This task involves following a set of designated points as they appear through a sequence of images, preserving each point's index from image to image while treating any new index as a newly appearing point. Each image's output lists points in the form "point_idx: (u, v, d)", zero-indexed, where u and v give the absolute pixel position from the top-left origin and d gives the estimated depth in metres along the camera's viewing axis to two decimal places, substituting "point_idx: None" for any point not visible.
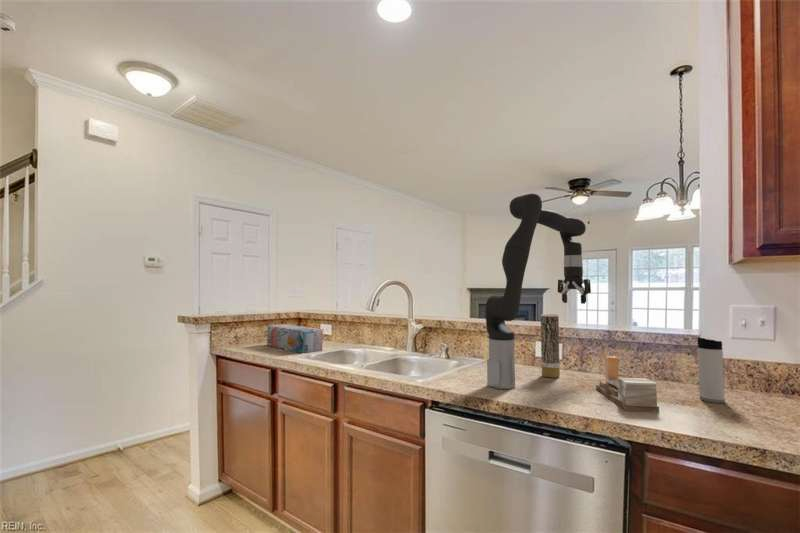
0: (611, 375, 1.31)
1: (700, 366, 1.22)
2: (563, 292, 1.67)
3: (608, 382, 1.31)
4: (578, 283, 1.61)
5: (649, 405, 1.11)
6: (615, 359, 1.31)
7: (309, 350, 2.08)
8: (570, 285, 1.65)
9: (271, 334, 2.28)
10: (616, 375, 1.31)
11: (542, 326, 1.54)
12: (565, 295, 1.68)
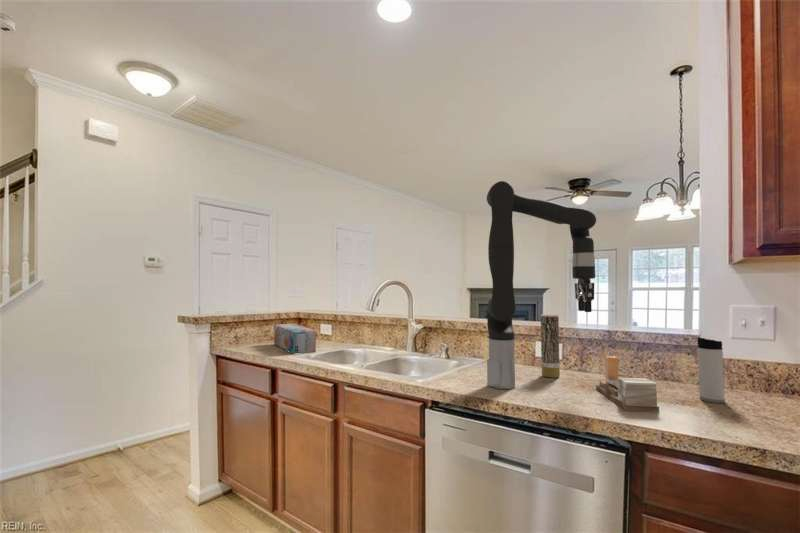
0: (611, 375, 1.31)
1: (700, 366, 1.22)
2: None
3: (608, 382, 1.31)
4: None
5: (649, 405, 1.11)
6: (615, 359, 1.31)
7: (300, 351, 2.05)
8: None
9: (276, 333, 2.32)
10: (616, 375, 1.31)
11: (542, 326, 1.54)
12: None
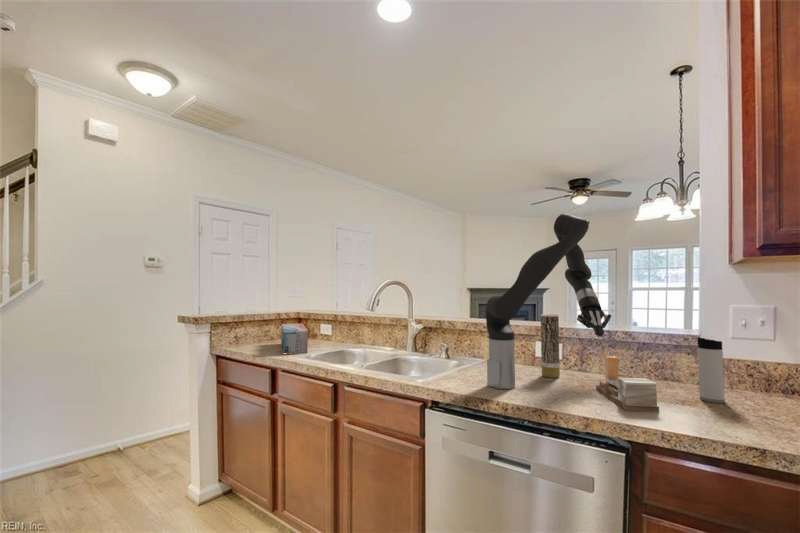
0: (611, 375, 1.31)
1: (700, 366, 1.22)
2: None
3: (608, 382, 1.31)
4: None
5: (649, 405, 1.11)
6: (615, 359, 1.31)
7: (290, 352, 2.04)
8: None
9: (281, 332, 2.35)
10: (616, 375, 1.31)
11: (542, 326, 1.54)
12: None
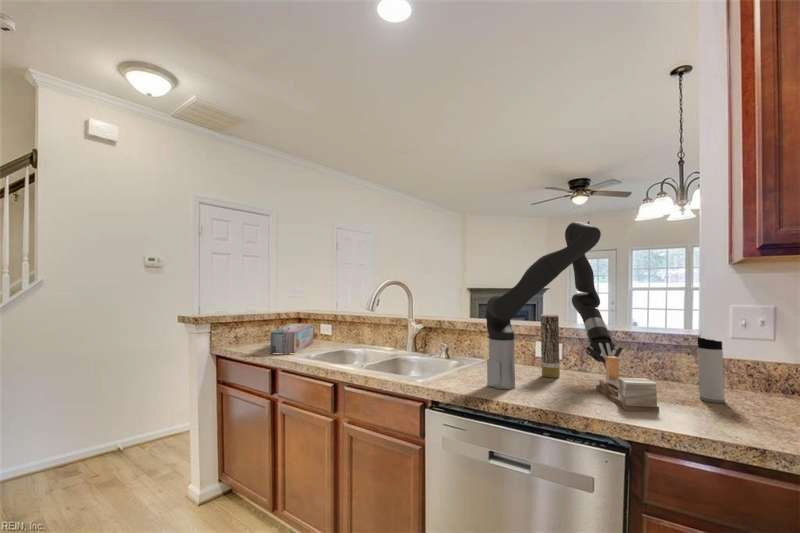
0: (611, 375, 1.31)
1: (700, 366, 1.22)
2: None
3: (608, 382, 1.31)
4: None
5: (649, 405, 1.11)
6: (616, 359, 1.31)
7: (277, 352, 2.03)
8: None
9: None
10: (617, 375, 1.30)
11: (542, 326, 1.54)
12: None
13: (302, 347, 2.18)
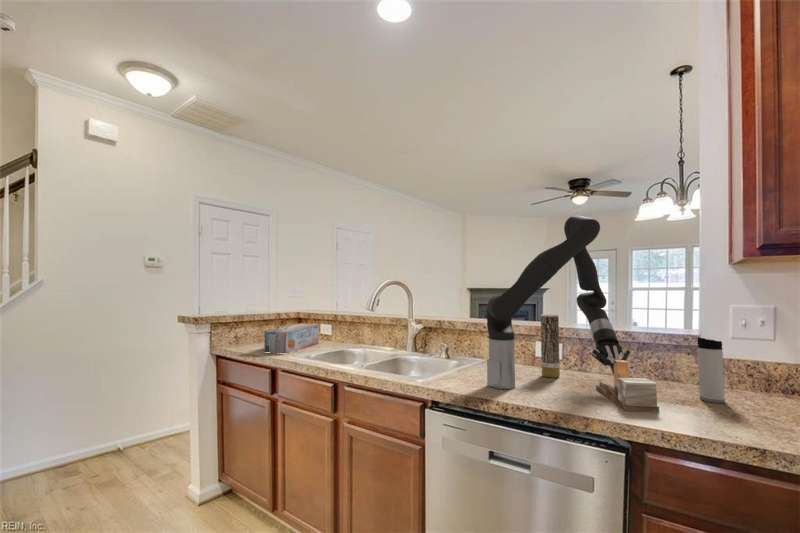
0: None
1: (700, 366, 1.22)
2: None
3: (617, 388, 1.24)
4: None
5: (649, 405, 1.11)
6: (624, 363, 1.24)
7: (270, 351, 2.04)
8: None
9: None
10: None
11: (542, 326, 1.54)
12: None
13: (299, 347, 2.17)
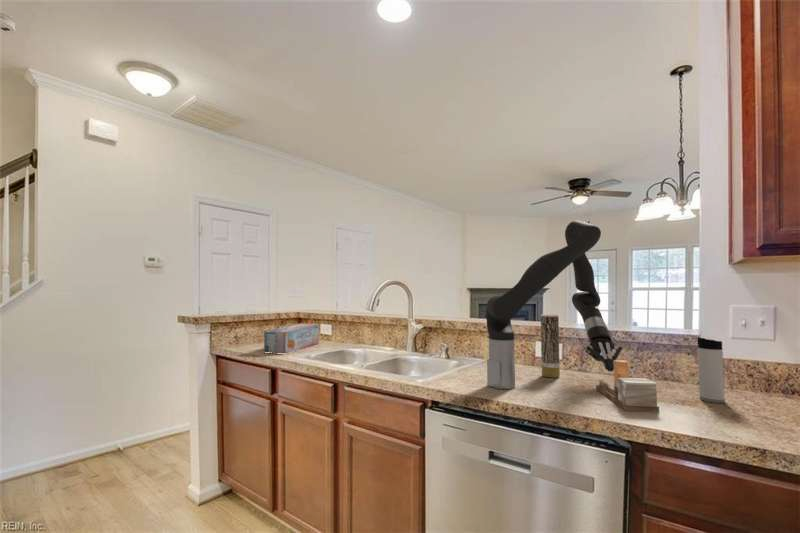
0: None
1: (700, 366, 1.22)
2: (607, 360, 1.38)
3: (617, 388, 1.24)
4: None
5: (649, 405, 1.11)
6: (625, 363, 1.24)
7: (270, 351, 2.04)
8: None
9: None
10: None
11: (542, 326, 1.54)
12: None
13: (299, 347, 2.17)
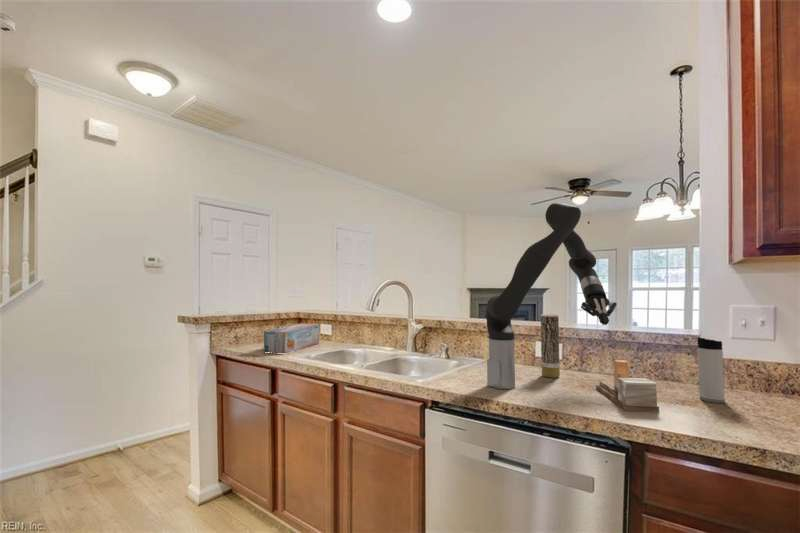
0: None
1: (700, 366, 1.22)
2: None
3: (617, 388, 1.24)
4: None
5: (649, 405, 1.11)
6: (625, 363, 1.24)
7: (270, 351, 2.05)
8: None
9: None
10: None
11: (542, 326, 1.54)
12: None
13: (299, 347, 2.17)
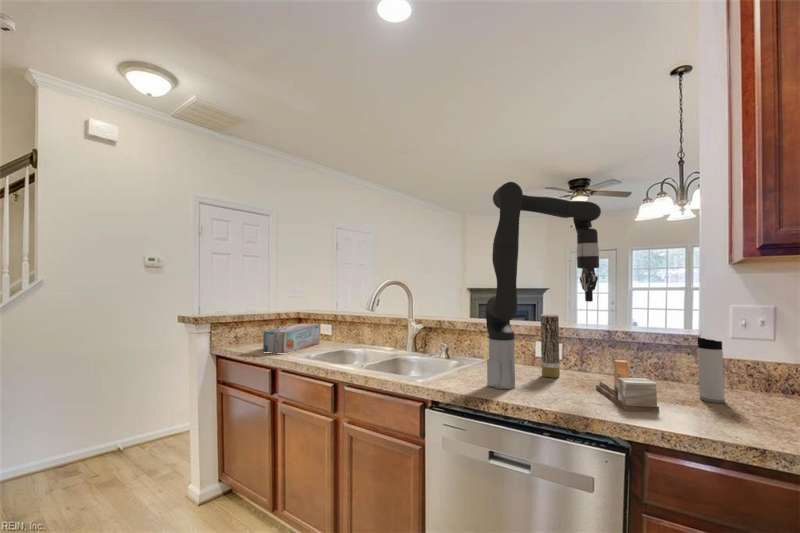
0: None
1: (700, 366, 1.22)
2: None
3: (617, 388, 1.24)
4: None
5: (649, 405, 1.11)
6: (625, 363, 1.24)
7: (269, 351, 2.05)
8: None
9: None
10: None
11: (542, 326, 1.54)
12: None
13: (299, 347, 2.17)
